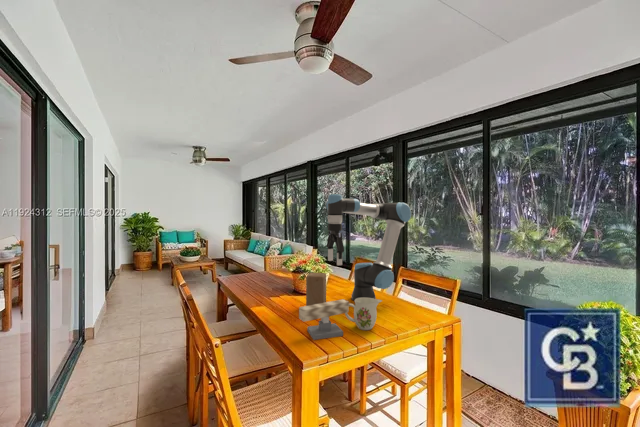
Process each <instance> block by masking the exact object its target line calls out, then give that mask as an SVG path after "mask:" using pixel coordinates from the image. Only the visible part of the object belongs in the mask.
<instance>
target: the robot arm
mask: <svg viewBox="0 0 640 427" xmlns="http://www.w3.org/2000/svg"><path fill="white" fill-rule="evenodd" d="M325 204H326V205H325V208H326V210H327V217H326V218H327V223H328V224H327V230H328V235H327V240H326V241H327V242H326V248H327V261H329V262H333V261H334V244H335V247H336V266H343V253H345V247H344V240H343V233H342V232H341V231H342V230H343V224H342V223H343V213H345V214H351V215H358V216H359V215H360V216H369V217H370V218H372V219H378V220H382V221H385V223H386V227H385V231H384V234H383V237H382V241H381V244H380V248H379V251H378V254H377V259H376V261H373V263H372V262H359V263H356V264H355V265H354V269H353V270H354V272H353V274H354V275H353V278H354V288H353V290H352V293H351V300H352V301H354V302H355V299H356V298H362V297H366V298H374V299H377V298H376V294H375V289H374V288H377V289H381V290H386V289H388V288H390V287H391V286H392V285H393V282H394V281H395V276H394V274H395V273H394V272H393V271H392V270H393V267H392V260H393V258H394V255H395V254H394V253H395V251H396V247H397V244H398V239H399V236H400V233H401V229H402V228H403V227H405V224H406V223H407V222H409V221H410V220H411V217H412V210H411V208H410V206H409V205H408V204H407V203H405V202H385V203H384V202H382V203H374V202H373V203H372V204H371V203H365V202H360V200H359V199H357V198H343V195H342V194H340V193H339V194H338V193H337V194H335V193H334V194H333V193H332V194H328V197H327V202H326V203H325Z"/></svg>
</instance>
